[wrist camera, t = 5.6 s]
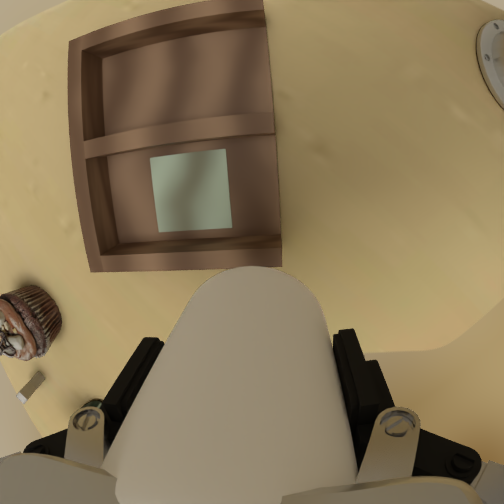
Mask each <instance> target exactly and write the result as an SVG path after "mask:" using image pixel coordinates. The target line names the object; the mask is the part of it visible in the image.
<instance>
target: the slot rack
mask: <svg viewBox="0 0 504 504" xmlns="http://www.w3.org/2000/svg"><path fill="white" fill-rule="evenodd" d="M68 118H69V135H70V148H71V159H72V168H73V177H74V185H75V192H76V199H77V206H78V212H79V218H80V223H81V229H82V234H83V239H84V244H85V249H86V254H87V258H88V263H89V267H90V271H91V272H132V271H171V270H205V269H233V268H237V267H244V266H260V267H282V241H281V221H280V202H279V185H278V169H277V153H276V139H275V125H274V112H273V99H272V87H271V75H270V64H269V53H268V42H267V32H266V22H265V13H264V5H263V0H209V1H203V2H197V3H192V4H187V5H182V6H177V7H173V8H168V9H164V10H160V11H156V12H152V13H149V14H145V15H141V16H138V17H135V18H131V19H128V20H125V21H122V22H119V23H116V24H113V25H110V26H107V27H104V28H101V29H99V30H96V31H93V32H91V33H88V34H86V35H83V36H81V37H78V38H76V39H74V40H71V41H69V50H68Z"/></svg>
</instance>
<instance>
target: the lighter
mask: <svg viewBox="0 0 504 504" xmlns="http://www.w3.org/2000/svg"><path fill="white" fill-rule="evenodd" d="M44 380H45V377H44V376H43V375H42V374H41V373H40V372H37V373H36V375H35V376H34V377H33V378H32V379H31V380H30V381H29V382H28V383H27V384H26V385H25V386H24V387H23V388H22V389H21V390H20V391H19V393H18V394H17V395H16V397H17V398H18V399H19V400H20V401H21V402H22V403H23V404H25V402H26V401H27V400H28V399H29V398H30V396H31V395H32V394H33V393H34V392H35V390H36V389H37V388H38V387H39V386H40V385H41V383H42V382H43V381H44Z"/></svg>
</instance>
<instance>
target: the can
mask: <svg viewBox="0 0 504 504" xmlns="http://www.w3.org/2000/svg"><path fill="white" fill-rule="evenodd" d="M100 469H104V470H106V471H107V472H108V473H110V474H111V475H113V476H114V477H116V478H117V481H116V487H115V495H116V498H117V500H118V502H119V503H120V504H281V501H282V496H286V495H290V494H295V493H299V492H303V491H308V490H312V489H316V488H320V487H332V486H342V485H350V484H355V481H356V478H357V476H358V468H357V462H356V457H355V451H354V446H353V440H352V435H351V430H350V425H349V420H348V415H347V410H346V405H345V401H344V396H343V391H342V387H341V382H340V378H339V373H338V369H337V364H336V360H335V356H334V352H333V347H332V343H331V339H330V335H329V331H328V327H327V324H326V320H325V317H324V313H323V311H322V308H321V306H320V304H319V302H318V300H317V299H316V297H315V296H314V294H313V293H312V292H311V291H310V290H309V289H308V288H307V287H306V286H305V285H304V284H303V283H302V282H300V281H299V280H297V279H296V278H294V277H293V276H291V275H289V274H287V273H284V272H282V271H279V270H276V269H272V268H267V267H260V266H244V267H237V268H233V269H229V270H226V271H223V272H221V273H219V274H217V275H215V276H213V277H211V278H210V279H208V280H207V281H206V282H204V283H203V284H202V285H201V286H200V287H199V288H198V289H197V291H196V292H195V293H194V295H193V296H192V298H191V299H190V301H189V302H188V304H187V306H186V307H185V309H184V311H183V313H182V314H181V316H180V318H179V320H178V321H177V323H176V325H175V327H174V328H173V330H172V332H171V334H170V336H169V337H168V339H167V341H166V343H165V345H164V346H163V348H162V350H161V352H160V354H159V355H158V357H157V359H156V361H155V363H154V365H153V366H152V368H151V370H150V372H149V374H148V376H147V378H146V379H145V381H144V383H143V385H142V387H141V389H140V391H139V393H138V394H137V396H136V398H135V400H134V402H133V404H132V406H131V408H130V410H129V412H128V414H127V416H126V417H125V419H124V421H123V423H122V425H121V427H120V429H119V431H118V433H117V435H116V437H115V439H114V441H113V443H112V445H111V447H110V449H109V451H108V453H107V455H106V457H105V459H104V461H103V463H102V465H101V467H100Z"/></svg>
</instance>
